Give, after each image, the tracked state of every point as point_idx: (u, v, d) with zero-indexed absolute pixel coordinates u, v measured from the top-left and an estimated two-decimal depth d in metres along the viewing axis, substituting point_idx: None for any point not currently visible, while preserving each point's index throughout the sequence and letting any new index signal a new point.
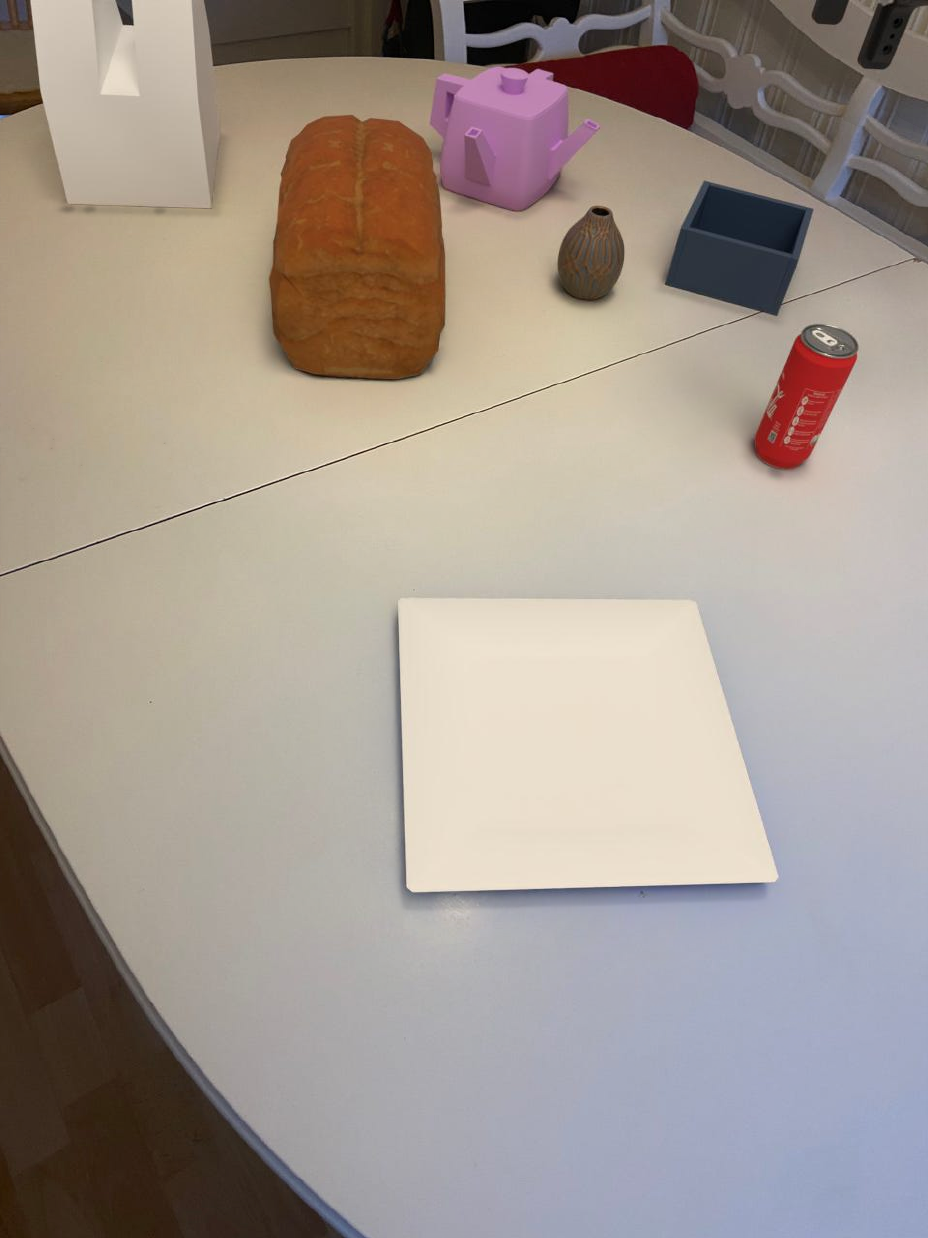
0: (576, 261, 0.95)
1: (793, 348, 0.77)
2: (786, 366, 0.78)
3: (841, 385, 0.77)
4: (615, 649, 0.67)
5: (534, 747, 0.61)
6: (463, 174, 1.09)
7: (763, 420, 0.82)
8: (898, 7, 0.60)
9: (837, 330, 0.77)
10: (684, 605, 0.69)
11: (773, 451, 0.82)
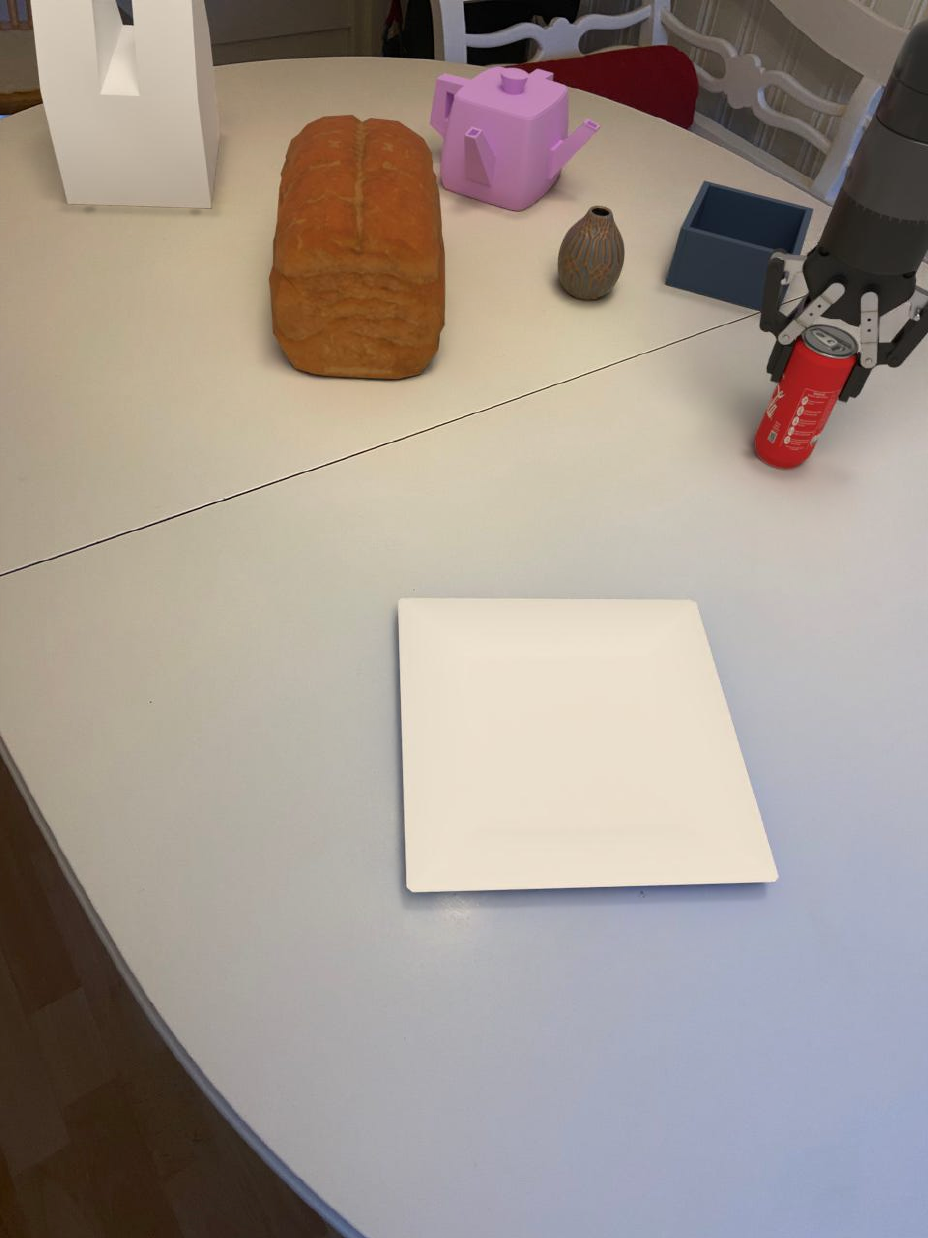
0: (576, 261, 0.95)
1: (793, 348, 0.77)
2: (786, 366, 0.78)
3: (841, 385, 0.77)
4: (615, 649, 0.67)
5: (534, 747, 0.61)
6: (463, 174, 1.09)
7: (763, 420, 0.82)
8: (876, 364, 0.75)
9: (837, 330, 0.77)
10: (684, 605, 0.69)
11: (773, 451, 0.82)
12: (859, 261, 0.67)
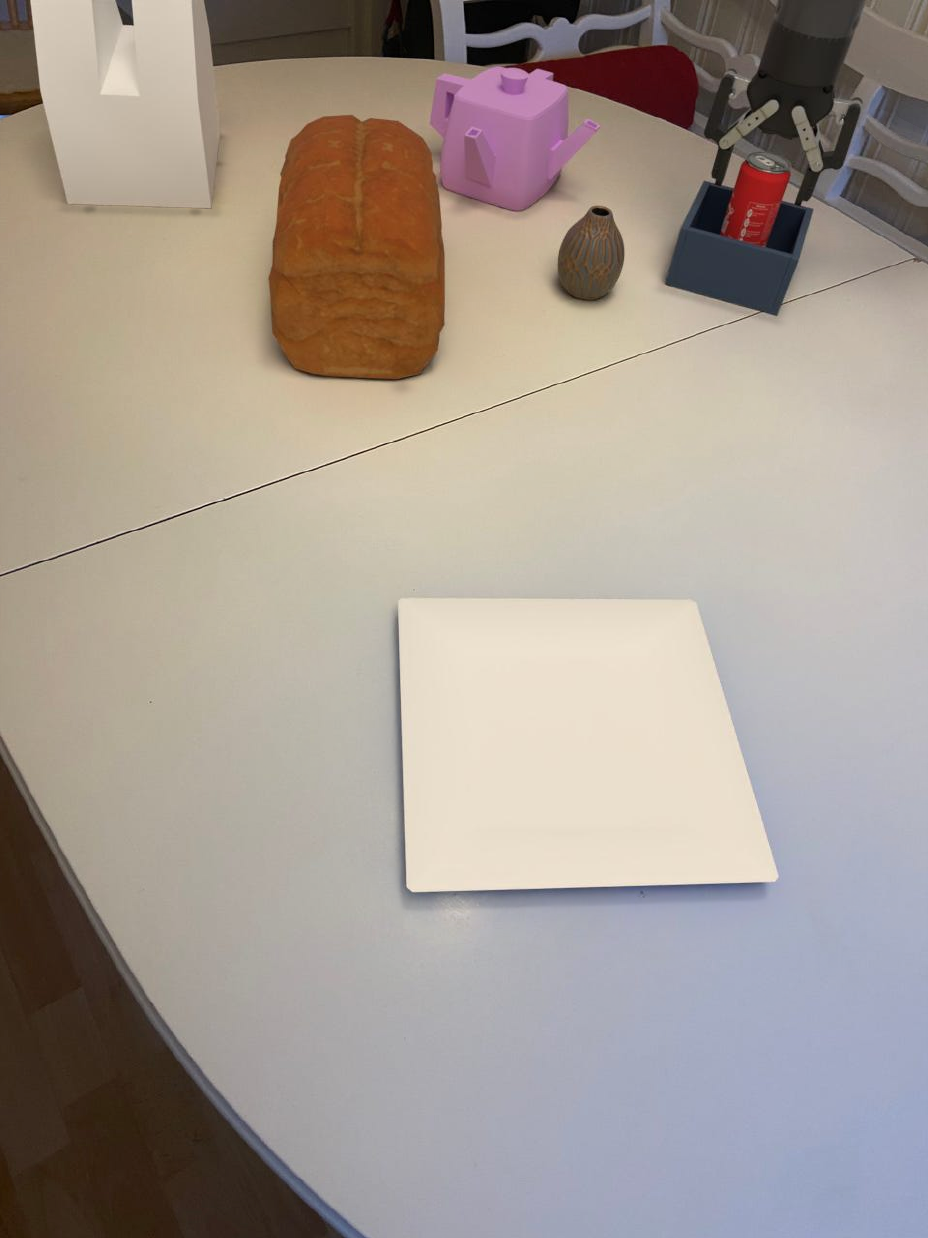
0: (576, 261, 0.95)
1: (740, 169, 0.97)
2: (735, 186, 0.98)
3: (778, 199, 0.97)
4: (615, 649, 0.67)
5: (534, 747, 0.61)
6: (463, 174, 1.09)
7: None
8: (823, 169, 0.94)
9: (775, 155, 0.97)
10: (684, 605, 0.69)
11: None
12: (787, 75, 0.87)
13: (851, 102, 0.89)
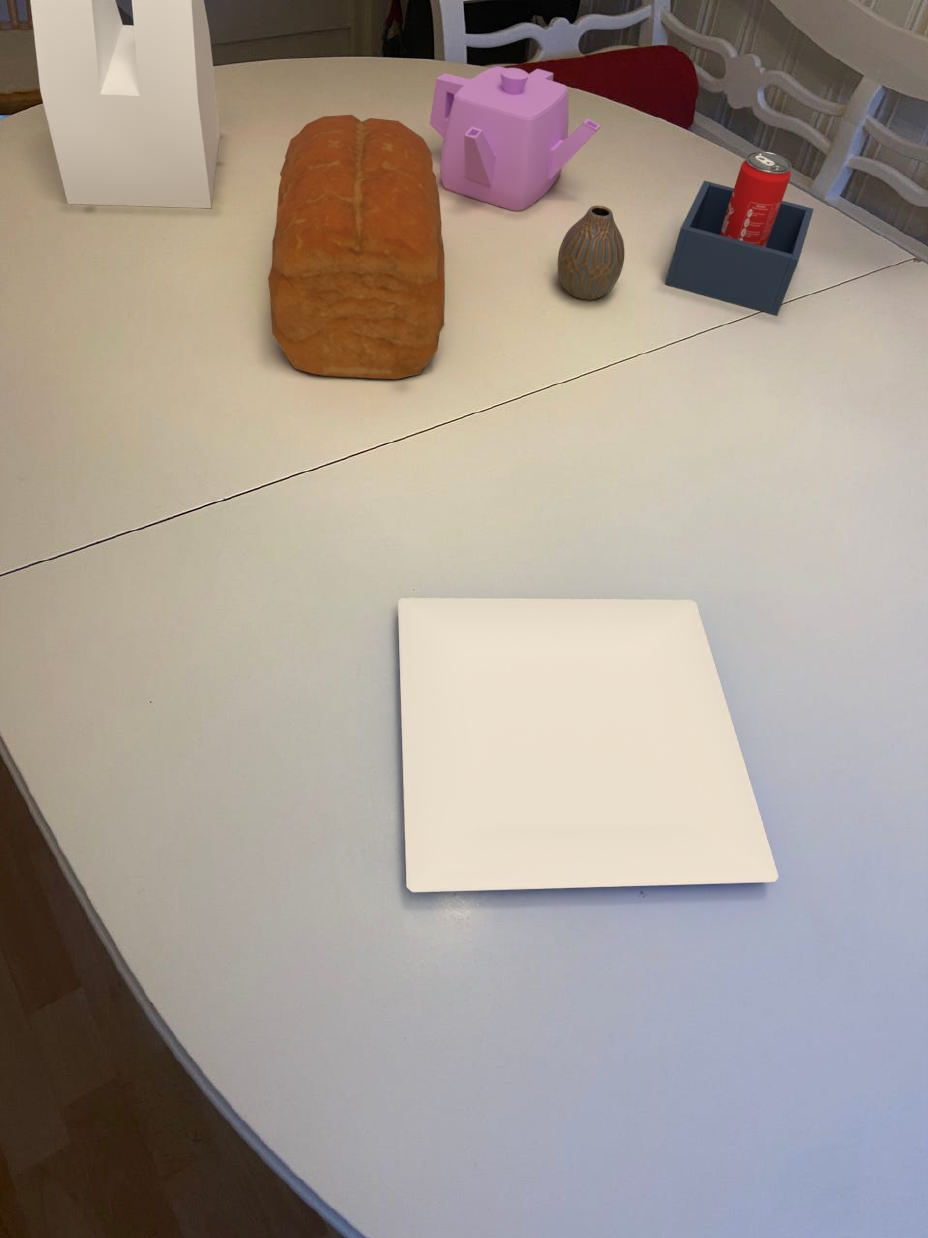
0: (576, 261, 0.95)
1: (740, 169, 0.97)
2: (735, 186, 0.98)
3: (778, 199, 0.97)
4: (615, 649, 0.67)
5: (534, 747, 0.61)
6: (463, 174, 1.09)
7: None
8: None
9: (775, 156, 0.97)
10: (684, 605, 0.69)
11: None
12: None
13: None
